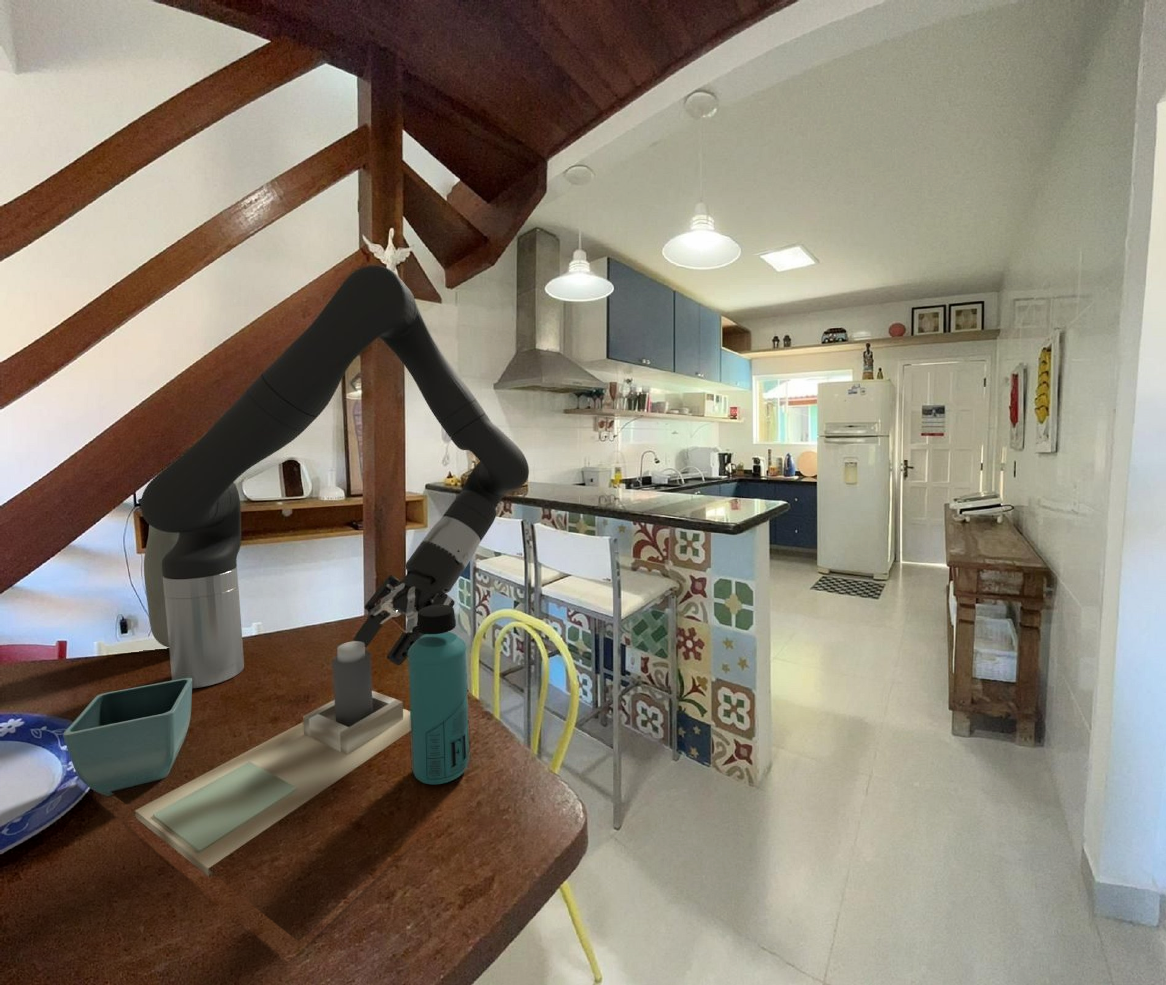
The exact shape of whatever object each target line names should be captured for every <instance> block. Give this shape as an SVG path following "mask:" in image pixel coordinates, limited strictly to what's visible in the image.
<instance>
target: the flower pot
mask: <svg viewBox="0 0 1166 985" xmlns="http://www.w3.org/2000/svg"><path fill="white" fill-rule="evenodd" d="M192 695H193V688H192V678H184V679H179V680H173V681H172V680H169V681H163V682H158V683H153V684H147V685H142V686H137V687H131V688H127V689H126V688H125V689H120V690H115V691H108V692H104V693H100V694H97V695H96V696H95V697H94V698H93V699H92V700H91V702H89V704H88V705H87V706H86V707H85V708H84V709H83V711H82V712H81V713H80V714H79V715H78V716H77V717H76V718H75V720H74V721H73V722H72V723H71V724H70V726H69V727H66V730H64V732H63V733H62V736H63V740H64V742H65V745H66V748H67V749H66V750H67V752H68V755H69V758H70V761H71V763H72V765H73V769H74V770H75V772H76V775H77V776H78V777H79V779H80V780H81V781H82V783H84V785H85V786H87V787H88V788H89V789H91V790H93V791H94V792H96V793H99V794H100V795H102V796H106V797H109V796H113V795H115V794H114V793H113V792H115V791H118V790H123V789H127V788H130V787H134V786H140V785H142V784H145V783H146V784H147V783H151V782H155V781H158V780H162V779H164V778H166V777H168V775H169V773H170V771H171V770H172V767H173V765H174V763H175V761H176V758H177V757H178V754H179V752H180V750H181V748H182V746H183V744H184V742H185V739H186V736H187V734H188V733H187V732H188V731H189V727H190V722H191V716H192V714H191V713H192Z"/></svg>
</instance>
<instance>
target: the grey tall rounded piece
mask: <svg viewBox="0 0 1166 985" xmlns="http://www.w3.org/2000/svg"><path fill="white" fill-rule="evenodd" d="M148 525H149V524H148ZM178 538H179V533H170V532H164V531H160V530H158V529H155V528H153V527H152V526H150V525H149V526H148V536H147V541H146V547H145V551H144V556H143V576H144V578H143V579H144V587H145V594H146V601H147V610H148V611H147V612H148V619H149V627H150V630H151V633H152V636H153V637H154V639H155V640H156V641H157V642H158V644H160V645H161V646H162V647H166V648H169V639H168V628H167V617H166V606H165V595H164V586H163V575H162V560H163V558H164V557H165V556H166V555H167V554H168V553H169V552H170V551H171V550H172V549H173V547H174V546H175V544H176V543H177V541H178Z"/></svg>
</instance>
